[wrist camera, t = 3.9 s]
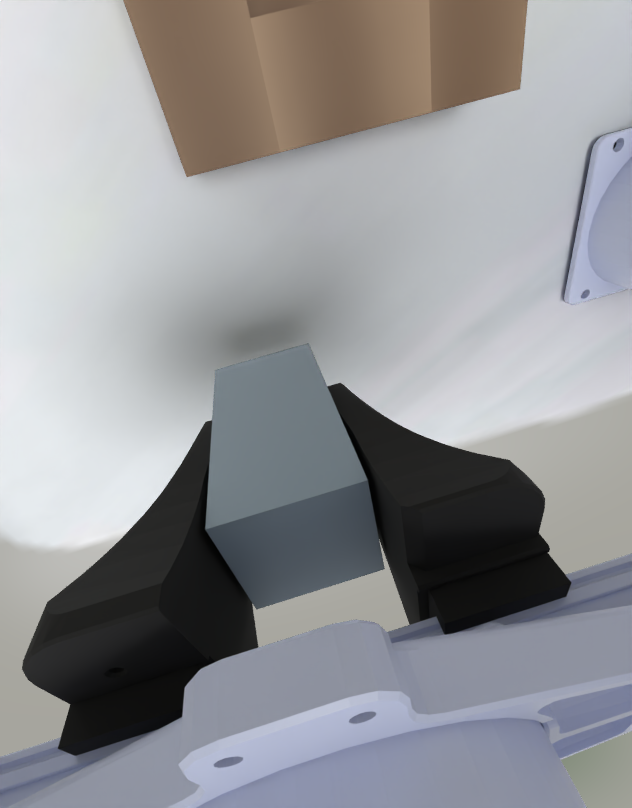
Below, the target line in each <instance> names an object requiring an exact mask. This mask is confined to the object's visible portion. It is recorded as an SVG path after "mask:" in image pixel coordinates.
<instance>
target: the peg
mask: <svg viewBox="0 0 632 808" xmlns="http://www.w3.org/2000/svg"><path fill="white" fill-rule="evenodd" d="M205 530H206V531H207V533H208V535H209V536H210V538H211V539H212V541H213V542H214V544H215V545H216V547H217V549H218V550H219V552H220V553H221V555H222V556H223V558H224V559H225V561H226V563H227V564H228V566H229V567H230V569H231V570H232V572H233V573H234V575H235V577H236V578H237V580H238V581H239V583H240V584H241V586H242V587H243V589H244V591H245V592H246V594H247V595H248V597H249V598H250V600H251V601H252V603H253V604H254V606H255V608H256V609H259V608H263V607H266V606H269V605H272V604H275V603H278V602H282V601H285V600H288V599H291V598H294V597H298V596H301V595H303V594H307V593H310V592H313V591H317V590H320V589H322V588H326V587H329V586H332V585H336V584H339V583H342V582H345V581H348V580H352V579H355V578H358V577H361V576H364V575H367V574H371V573H373V572H377V571H380V570H383V569H384V564H383V558H382V553H381V548H380V543H379V537H378V532H377V526H376V521H375V516H374V511H373V505H372V500H371V495H370V489H369V484H368V480H367V477H366V475H365V473H364V470H363V468H362V466H361V463H360V461H359V459H358V456H357V454H356V452H355V450H354V447H353V445H352V443H351V440H350V438H349V436H348V433H347V431H346V429H345V426H344V424H343V422H342V420H341V417H340V415H339V413H338V410H337V408H336V406H335V403H334V401H333V399H332V396H331V394H330V392H329V390H328V387H327V385H326V383H325V380H324V378H323V376H322V373H321V371H320V369H319V366H318V364H317V362H316V360H315V357H314V355H313V353H312V350H311V348H310V346H309V343H308V344H304V345H301V346H297V347H294V348H290V349H287V350H283V351H280V352H276V353H273V354H269V355H266V356H262V357H259V358H255V359H252V360H248V361H245V362H241V363H238V364H234V365H231V366H227V367H224V368H221V369H217V370H215V385H214V401H213V416H212V432H211V448H210V463H209V479H208V495H207V511H206V526H205Z"/></svg>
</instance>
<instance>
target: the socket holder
mask: <svg viewBox="0 0 632 808" xmlns="http://www.w3.org/2000/svg"><path fill="white" fill-rule="evenodd" d="M123 1H124V4H125V6H126V9H127V12H128V15H129V17H130V20H131V23H132V26H133V29H134V31H135V34H136V37H137V40H138V43H139V45H140V48H141V51H142V54H143V57H144V59H145V62H146V65H147V68H148V70H149V73H150V76H151V79H152V82H153V84H154V87H155V90H156V93H157V96H158V98H159V101H160V104H161V107H162V110H163V112H164V115H165V118H166V121H167V123H168V126H169V129H170V132H171V135H172V137H173V140H174V143H175V146H176V149H177V151H178V154H179V157H180V160H181V163H182V165H183V168H184V171H185V174H186V176H187V177H189V176H193V175H197V174H201V173H204V172H208V171H212V170H216V169H219V168H223V167H227V166H231V165H235V164H238V163H242V162H246V161H250V160H254V159H257V158H261V157H265V156H269V155H272V154H276V153H280V152H284V151H288V150H291V149H295V148H299V147H303V146H307V145H310V144H314V143H318V142H322V141H325V140H329V139H333V138H337V137H341V136H344V135H348V134H352V133H356V132H360V131H363V130H367V129H371V128H375V127H378V126H382V125H386V124H390V123H394V122H397V121H401V120H405V119H409V118H412V117H416V116H420V115H424V114H428V113H431V112H435V111H439V110H443V109H447V108H450V107H454V106H458V105H462V104H465V103H469V102H473V101H477V100H481V99H484V98H488V97H492V96H496V95H500V94H503V93H507V92H511V91H515V90H518V89H520V82H521V71H522V59H523V48H524V36H525V25H526V13H527V2H528V0H123Z"/></svg>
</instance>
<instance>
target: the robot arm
mask: <svg viewBox="0 0 632 808" xmlns="http://www.w3.org/2000/svg"><path fill="white" fill-rule="evenodd" d="M616 141H617V144H616V146H615V148H614V149H613V146H614V143H615V142H616ZM627 289H632V128H628V129H625V130H621V131H617V132H614V133H610V134H606V135H604V136H602V137H600V138H599V139H598V140H597V141H596V143H595V144H594V146H593V149H592V153H591V158H590V164H589V169H588V174H587V179H586V185H585V190H584V195H583V201H582V206H581V211H580V217H579V222H578V227H577V232H576V238H575V243H574V248H573V254H572V259H571V264H570V269H569V275H568V280H567V285H566V291H565V296H564V300H565V302H566V303H568V304H571V305H575V304H579V303H582V302H586V301H589V300H592V299H596V298H599V297H603V296H606V295H609V294H613V293H616V292H620V291H623V290H627ZM583 291H584V293H583ZM582 293H583V294H582ZM581 294H582V295H581ZM328 390H329V392H330V394H331V396H332V399H333V401H334V403H335V406H336V408H337V410H338V413H339V415H340V417H341V420H342V422H343V424H344V426H345V429H346V431H347V433H348V436H349V438H350V440H351V443H352V445H353V447H354V450H355V452H356V454H357V456H358V459H359V461H360V463H361V466H362V468H363V470H364V473H365V475H366V477H367V480H368V484H369V489H370V495H371V500H372V505H373V511H374V516H375V521H376V526H377V532H378V537H379V539H380V542H381V545H382V548H383V551H384V553H385V556H386V559H387V561H388V564H389V567H390V570H391V573H392V575H393V578H394V581H395V584H396V587H397V590H398V592H399V595H400V598H401V601H402V604H403V607H404V610H405V613H406V615H407V618H408V621H409V624H410V625H408V626H405V627H402V628H399V629H396V630H392V631H389V632H386V631H385V630H384V629H383V628H382V627H381V626H380V625H379V624H377V623H375V622H370V621H362V620H351V621H346V622H340V623H335V624H331V625H327V626H324V627H321V628H318V629H315V630H312V631H309V632H306V633H303V634H300V635H296V636H293V637H290V638H287V639H284V640H281V641H277V642H274V643H271V644H268V645H265V646H262V647H259V648H258V642H257V635H256V628H255V621H254V614H253V607H252V601H251V600H250V598H249V597H248V595H247V594H246V592H245V591H244V589H243V587H242V586H241V584H240V583H239V581H238V580H237V578H236V577H235V575H234V573H233V572H232V570H231V569H230V567H229V566H228V564H227V563H226V561H225V559H224V558H223V556H222V555H221V553H220V552H219V550H218V549H217V547H216V545H215V544H214V542H213V541H212V539H211V538H210V536H209V535H208V533H207V531H206V530H205V526H206V511H207V495H208V479H209V463H210V448H211V432H212V420H211V421H208V422H205V424H204V426H203V427H202V429H201V431H200V433H199V434H198V436H197V438H196V440H195V441H194V443H193V445H192V447H191V448H190V450H189V452H188V454H187V455H186V457H185V459H184V460H183V462H182V464H181V465H180V467H179V468H178V470H177V471H176V473H175V474H174V476H173V477H172V479H171V480H170V482H169V483H168V485H167V486H166V488H165V489H164V490H163V492H162V493H161V494H160V496H159V497H158V498H157V499H156V501H155V502H154V503H153V504H152V506H151V507H150V508H149V509H148V510H147V512H146V513H145V514H144V515H143V516H142V517H141V518H140V519H139V520H138V522H137V523H136V524H135V525H134V526H133V527H132V528H131V529H130V530H129V531H128V532H127V533H126V534H125V535H124V536H123V538H122V539H121V540H120V541H119V542H117V543H116V544H115V545H114V546H113V547H112V548H111V549H110V550H109V551H108V552H107V553H106V554H105V555H104V556H103V557H102V558H100V560H98V561H97V562H96V563H95V564H94V565H93V566H91V568H89V569H88V570H87V571H86V572H85V573H84V574H82V575H81V576H80V577H78V578H77V579H76V580H75V581H74V582H72V583H71V584H70V585H69V586H67V587H66V588H65V589H64V590H62V591H61V592H60V593H59V594H57V595H56V596H55V597H54V598H52V599H51V600H50V601H48V602H47V604H46V607H45V609H44V611H43V614H42V616H41V619H40V621H39V623H38V626H37V629H36V631H35V633H34V636H33V638H32V641H31V643H30V645H29V648H28V650H27V653H26V655H25V658H24V660H23V666H22V670H23V672H24V674H25V676H26V677H27V678H28V680H29V681H30V682H32V683H33V684H34V685H36V686H37V687H39V688H41V689H43V690H45V691H47V692H48V693H50V694H52V695H54V696H56V697H58V698H60V699H62V700H63V701H65V702H67V703H69V704H70V708H69V712H68V715H67V718H66V722H65V725H64V729H63V732H62V736H61V737H60V738H57V739H54V740H51V741H48V742H45V743H42V744H38V745H36V746H32V747H29V748H26V749H23V750H20V751H17V752H14V753H10V754H7V755H4V756H1V757H0V808H587V807H586V805H585V803H584V801H583V800H582V798H581V796H580V794H579V793H578V791H577V789H576V787H575V785H574V783H573V782H572V780H571V778H570V776H569V774H568V772H567V771H566V769H565V767H564V765H563V764H562V762H561V759H564V758H566V757H569V756H571V755H574V754H576V753H579V752H581V751H583V750H586V749H588V748H591V747H593V746H596V745H598V744H600V743H603V742H606V741H608V740H610V739H613V738H615V737H618V736H620V735H623V734H625V733H628V732H630V731H632V554H628V555H625V556H622V557H619V558H616V559H613V560H610V561H606V562H603V563H601V564H597V565H594V566H591V567H588V568H585V569H582V570H579V571H576V572H572V573H569V574H566V575H565V574H564V573H563V571H562V570H561V569H560V568H559V567H558V565H557V564H556V563H555V562H554V560H553V559H552V558H551V557H550V555H549V554H548V553H547V552H549V550H550V548H549V545H548V544H547V543H546V541H545V540H544V539H543V538H542V537H541V535H540V534H539V529H540V525H541V521H542V517H543V513H544V508H545V498H544V495H543V493H542V491H541V490H540V489H539V488H538V487H537V486H536V485H535V484H534V483H533V482H532V480H531V479H530V478H529V477H528V476H527V475H526V474H525V473H524V472H522V471H521V470H520V469H519V468H517V467H516V466H515V465H514V464H513V463H512V462H511V461H510V460H506V459H501V458H496V457H492V456H487V455H481V454H477V453H472V452H469V451H465V450H462V449H458V448H455V447H451V446H448V445H445V444H442V443H439V442H437V441H434V440H431V439H429V438H426V437H424V436H421V435H419V434H416V433H414V432H412V431H410V430H408V429H406V428H404V427H402V426H400V425H398V424H397V423H395V422H393V421H392V420H390V419H388V418H387V417H385V416H383V415H382V414H380V413H379V412H377V411H376V410H374V409H373V408H372V407H370V406H369V405H367V404H366V403H365V402H363V401H362V400H361V399H359V398H358V397H357V396H356V395H354V394H353V393H352V392H351V391H350V390H349V389H348V388H346V387H345V386H344V385H343V384H341V383H338V384H335V385H331V386H328Z"/></svg>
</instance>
